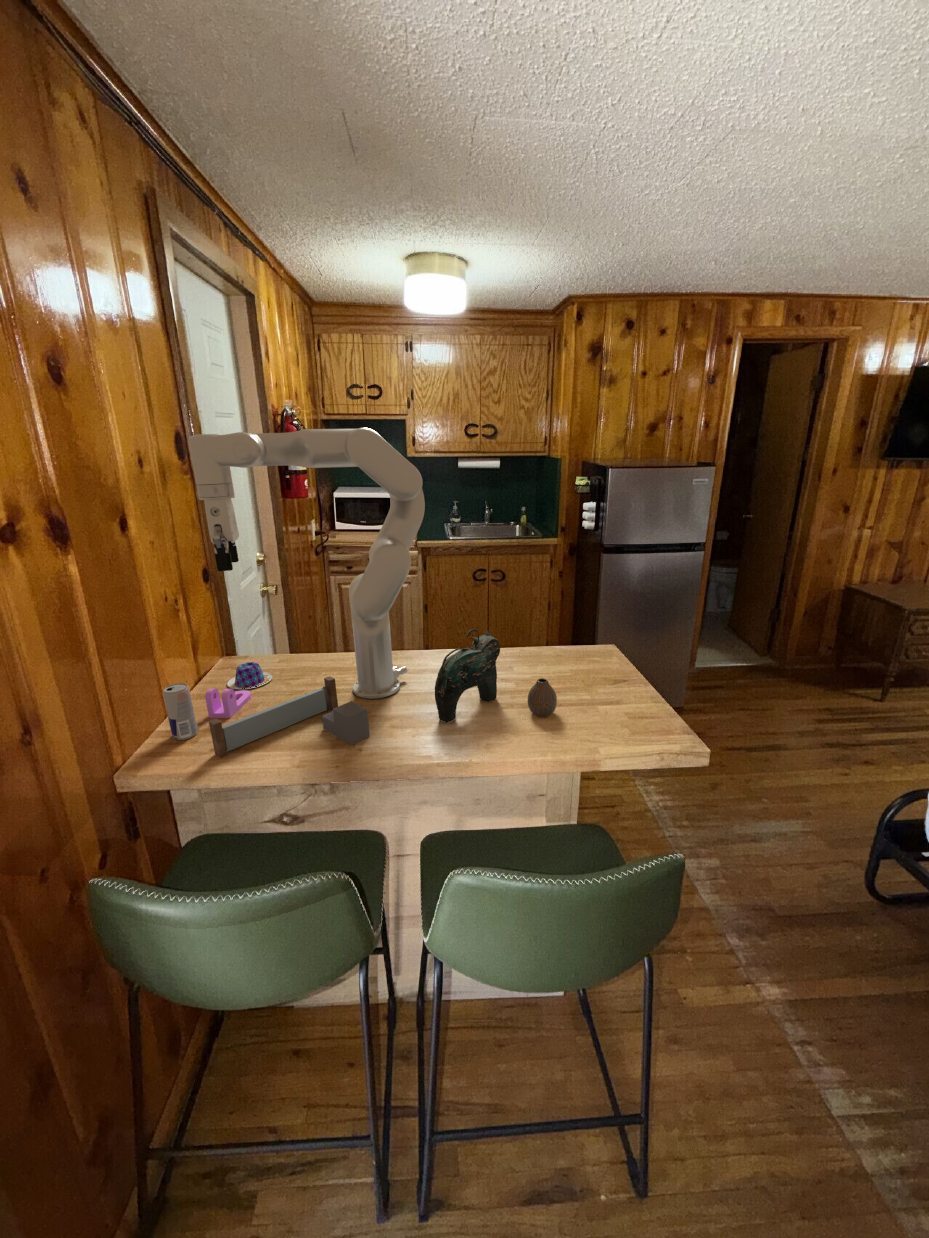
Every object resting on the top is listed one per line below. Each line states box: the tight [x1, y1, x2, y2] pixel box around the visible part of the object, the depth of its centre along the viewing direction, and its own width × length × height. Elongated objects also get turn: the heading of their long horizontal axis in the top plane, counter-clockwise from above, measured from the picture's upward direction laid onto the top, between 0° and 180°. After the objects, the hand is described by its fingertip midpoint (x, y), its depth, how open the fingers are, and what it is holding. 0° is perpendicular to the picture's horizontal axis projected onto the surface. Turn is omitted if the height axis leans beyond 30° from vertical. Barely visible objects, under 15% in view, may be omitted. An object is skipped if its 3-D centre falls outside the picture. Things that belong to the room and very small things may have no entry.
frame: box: [208, 675, 339, 759], centre depth 125 cm, size 30×2×8 cm, turn 137°
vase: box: [527, 677, 558, 718], centre depth 128 cm, size 7×7×9 cm
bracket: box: [204, 688, 252, 719], centre depth 137 cm, size 13×6×7 cm, turn 175°
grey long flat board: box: [222, 685, 330, 752], centre depth 125 cm, size 26×1×6 cm, turn 137°
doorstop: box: [321, 700, 371, 746], centre depth 123 cm, size 5×11×7 cm, turn 47°
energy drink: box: [162, 682, 199, 741], centre depth 123 cm, size 5×5×12 cm
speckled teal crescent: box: [434, 628, 501, 724], centre depth 130 cm, size 20×6×20 cm, turn 135°
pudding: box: [226, 661, 273, 690], centre depth 152 cm, size 12×12×5 cm
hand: (228, 566), depth 127 cm, fingers open, 9 cm apart
